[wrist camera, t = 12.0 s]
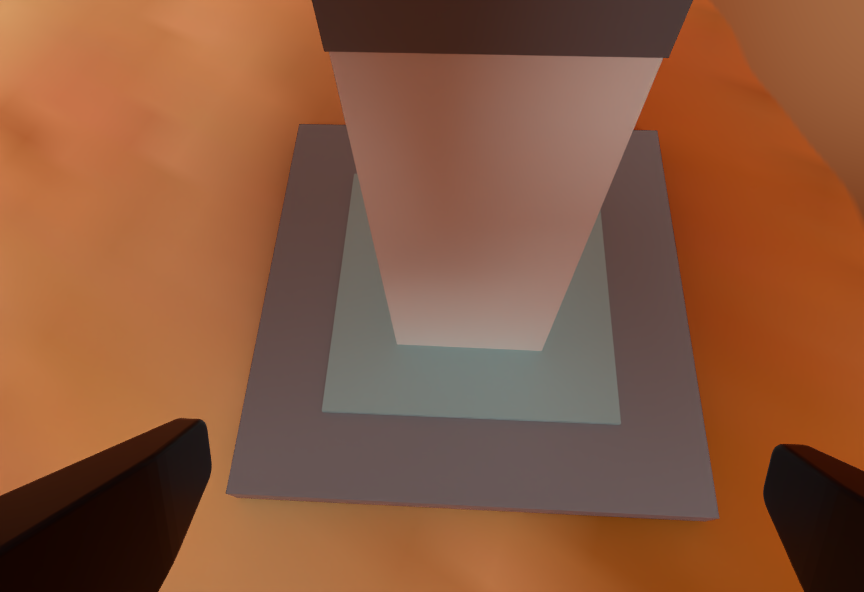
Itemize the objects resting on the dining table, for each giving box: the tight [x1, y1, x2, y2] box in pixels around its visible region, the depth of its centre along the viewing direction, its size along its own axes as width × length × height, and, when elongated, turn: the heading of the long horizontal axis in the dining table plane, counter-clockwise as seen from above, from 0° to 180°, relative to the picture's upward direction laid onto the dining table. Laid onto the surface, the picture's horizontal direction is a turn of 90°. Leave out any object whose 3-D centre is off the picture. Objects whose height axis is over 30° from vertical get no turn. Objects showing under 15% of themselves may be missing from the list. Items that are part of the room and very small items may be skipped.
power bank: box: [312, 0, 693, 351], centre depth 13 cm, size 5×5×13 cm
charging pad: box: [226, 124, 719, 521], centre depth 20 cm, size 14×14×1 cm
